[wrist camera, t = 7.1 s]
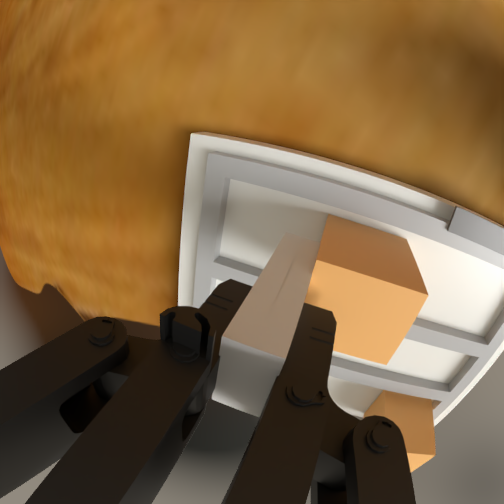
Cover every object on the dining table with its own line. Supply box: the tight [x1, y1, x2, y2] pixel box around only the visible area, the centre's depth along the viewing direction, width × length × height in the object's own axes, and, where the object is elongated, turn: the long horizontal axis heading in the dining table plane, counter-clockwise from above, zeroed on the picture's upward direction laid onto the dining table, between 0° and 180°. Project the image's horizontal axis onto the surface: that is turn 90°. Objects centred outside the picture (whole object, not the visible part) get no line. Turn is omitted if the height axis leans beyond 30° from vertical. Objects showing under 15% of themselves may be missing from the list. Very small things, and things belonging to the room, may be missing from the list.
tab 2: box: [363, 390, 436, 472], centre depth 15 cm, size 4×3×5 cm
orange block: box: [304, 214, 429, 365], centre depth 11 cm, size 4×3×5 cm
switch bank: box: [178, 132, 504, 426], centre depth 16 cm, size 22×18×2 cm
